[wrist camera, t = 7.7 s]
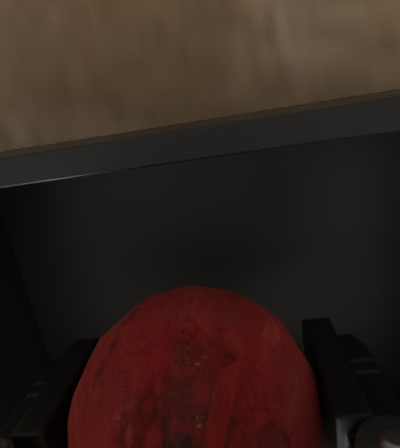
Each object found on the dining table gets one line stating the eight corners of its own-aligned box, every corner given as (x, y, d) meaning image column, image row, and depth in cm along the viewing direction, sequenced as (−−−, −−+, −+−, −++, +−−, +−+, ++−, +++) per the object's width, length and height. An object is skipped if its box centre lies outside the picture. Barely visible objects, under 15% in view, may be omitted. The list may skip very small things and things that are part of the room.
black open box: (60, 418, 18) (-4, 534, 13) (-26, 156, 14) (-158, 182, 9) (430, 397, 16) (517, 526, 11) (441, 82, 12) (577, 68, 7)
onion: (124, 235, 12) (-71, 464, 4) (308, 254, 12) (460, 540, 4) (120, 386, 14) (-23, 744, 6) (280, 407, 13) (348, 811, 6)
